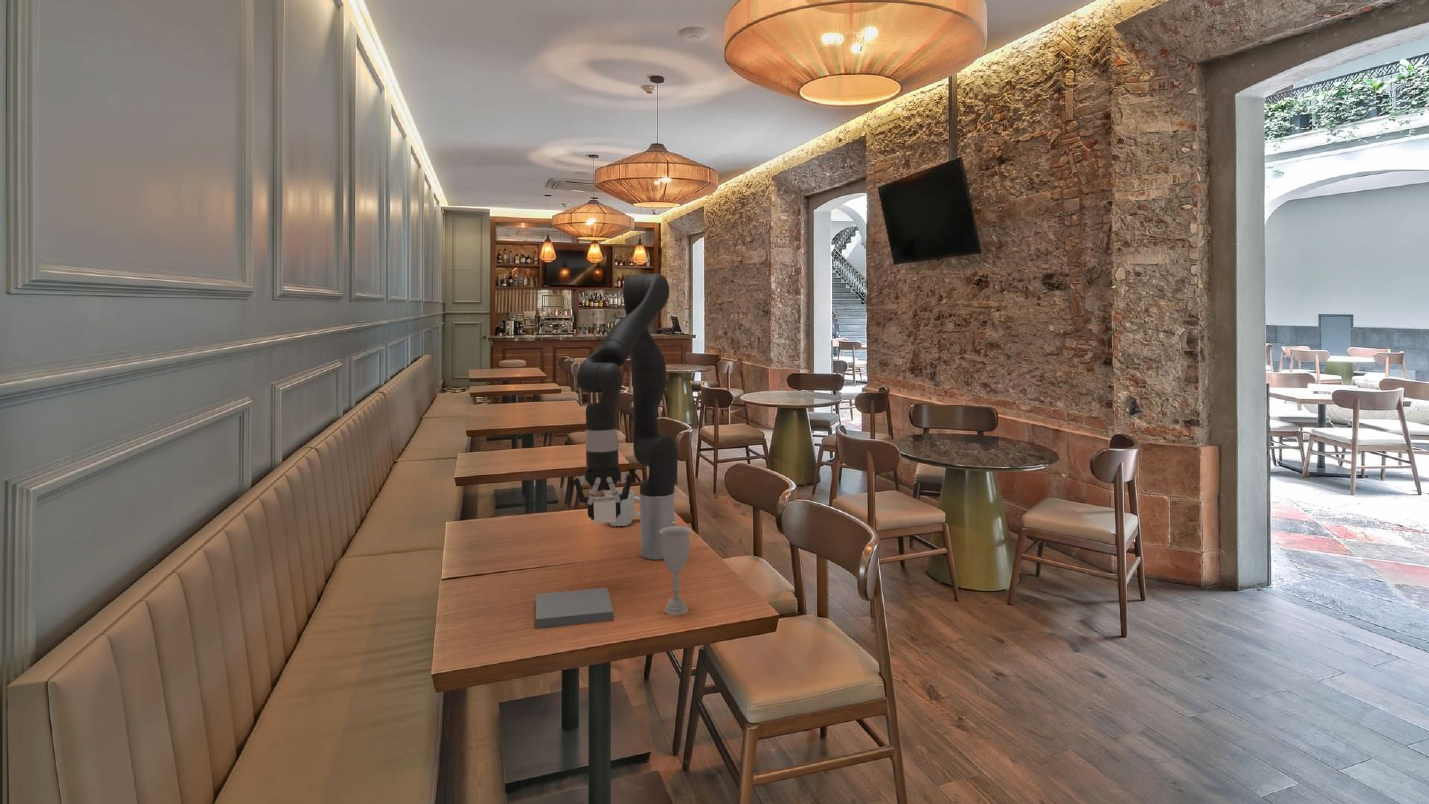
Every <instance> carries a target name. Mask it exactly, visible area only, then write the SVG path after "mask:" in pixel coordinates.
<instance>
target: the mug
mask: <svg viewBox="0 0 1429 804" xmlns="http://www.w3.org/2000/svg"><path fill="white" fill-rule="evenodd" d="M616 490H617V492H618V495H620V494H622V491H623V489H616ZM606 496H613V494H612V492H611V490H608V491H606V493H605V495H604V497H606ZM635 500H636V501H638V502H639V503H640V496H635V493H634V491H632V490H629V495H628V498H627V499H626V500H625V499H624V500H622V501H621V503H620V508H621V513H620V515H618V518H616V522H609V525H610V526H611V527H613V526H615V528H620V527H619V526H625V527H627V526H626V525H629V524H630V525H631V524H632V522H633V519H634V518H636V517H640V509H638V511H637V512H635ZM630 525H629V526H630ZM616 526H618V527H616Z"/></svg>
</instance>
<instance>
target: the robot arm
mask: <svg viewBox="0 0 1429 804" xmlns="http://www.w3.org/2000/svg"><path fill="white" fill-rule="evenodd" d="M622 287H623V288H622V297H623V305H624V312H625V316H624V317H622V318H621V319H620V320H618V321H617V322H616V323H615V324H614V325H613V326H612V327H611V328H610V329H609V331H608V332H607V334H606V335H605V337H604V339H603V341H602V342H601V343H600V344H601V345H600V346H599V347H598V348H597V349H596V350H594V351H593V352H592V353H591V354H590V355H589V356H588V357H586V359H585V360H584V361H583V362H582V363H581V365H580V366H579V368H578V370H577V374H576V383H577V386H578V388H579V389H580V390H581V391H583V392H585V393H590V394H592V393H594V394H595V393H598V394H601V398H600V400H599V401H598V402H593V403H590V404H588V405H587V406H586V408H585V427H586V428H585V431H586V432H585V460H586V461H585V463H586V469H585V473H584V475H581V476H574V477H573V482H574V486H575V489H576V493H577V495H578V496H577V497H578V499H579V502H580V503H582V504H586V505H587V507H586V508H587V516H588V518H589V519H591V521H594V505H593V500H594V497H596V496H597V492H601V491H611V492H612V494H613V496H614V499H615V502H616V518H618V515H620V513H621V508H620V503H621V501H622V500H624V499H625V500H626V499H627V498H628V495H629V490H630V489H631V485H632V481H633V476H632V474H631V472H627V473H624V472H621V471H620V468H619V463H620V461H619V444H620V443H619V438H618V436H619V435H618V430H617V409H618V403H619V398H620V394H621V392H622V386H623V382H624V377H623V372H622V370H621V368H620V367H622V366H623V365H625V363H626V362H627V360H628V358H629V357H630V374H631V386H632V399H633V400H632V402H633V441H632V443H633V445H632V447H633V456H634V458H635V460H636V461H637V463H638V464H640V465H642V466H645V467H648V478H647V479H644V480H643V481H640V484H639V497H640V502H639V510H640V515H639V523H640V525H639V526H640V529H639V530H640V556H641V557H642V558H644V559H647V560H664V557H663V554H662V536H661V534H660V532H659V531H660V530H661V529H663V528H666V527H672V526H677V521H676V520H675V486H676V483H677V480H678V466H679V465H678V463H679V460H678V459H679V454H678V453H679V452H678V445H677V442H676V440H675V439H674V438H672V437H671V436H669V435H666V434H661V433H659V427H658V413H659V412H658V411H659V407H660V405H661V402H662V400H663V397H664V395H665V392H666V388H667V382H668V381H667V380H668V379H667V367H666V358H665V356H664V354H663V351H662V350H661V349H660V347H659V345H658V344H657V343H656V341H655V339H654V338H653V337H652V334H651V333H650V331H649V329H648V327H649V326H650V325H651V324H652V322H653V321H654V320H655V319H656V317H658V315H659V314H660V313H661V311H662V310H663V309H664V308H665V306H666V305H667V303H668V301H669V297H670V286H669V281H668V279H667V278H666V277H665V276H664V275H662V274H661V273H643V274H641V273H640V274H630V275H628V276H626V277H625V279H624V282H623V286H622ZM620 478H621V481H622V482H623V487H622V490H623V491H622V494H620V495H618V492H617V490H618V489H617V488H616V484H618V482H619V480H620ZM585 480H586V481H587V483H588V484H589V485H590V488H589V492H588V494H587V496H585V495H584V492H583V487H582V486H583V485H584V483H585ZM630 491H631V490H630Z"/></svg>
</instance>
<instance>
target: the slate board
mask: <svg viewBox="0 0 1429 804" xmlns="http://www.w3.org/2000/svg"><path fill="white" fill-rule="evenodd" d="M613 621H614V609H613V604H612V601H611V597H610V593H609V590H608V587H600V588H599V587H598V588H590V589H588V588H587V589H580V590H579V589H578V590H566V591H557V592H546V593H545V592H544V593H536V594H535V629H543V628H554V627H561V626H572V625H574V626H575V625H582V624H591V623H593V624H594V623H601V622H613Z"/></svg>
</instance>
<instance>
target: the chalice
mask: <svg viewBox="0 0 1429 804" xmlns="http://www.w3.org/2000/svg"><path fill="white" fill-rule="evenodd" d="M659 532H660V534H661V536H662V554H663V557H664V559H663V560H664V563H665V565H666V567H667V569H668V571H669V572H670V573H672V574H673V579H672V583H673V588H672V589H671V590H672V592H673V597H672V598H670V599H669V600H668V602H667V604H666V607H665V610H664V612H665V613H666V614H667V615H670V616H681V615H684V614H686V613H687V612H688V607H687V606H686V603H685V600H684V599H682V598H681V597H679V591H680V590H681V588H680V586H679V583H680V579H679V573H681V572H682V571H683V569H684V567H685V565H686V563H687V560H688V557H689V553H690V535H691V532H692V529H691V528H690V527H687V526H680V525H679V526H678V525H676V526H672V527H666V528H663V529H661V530H660V531H659Z"/></svg>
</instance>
